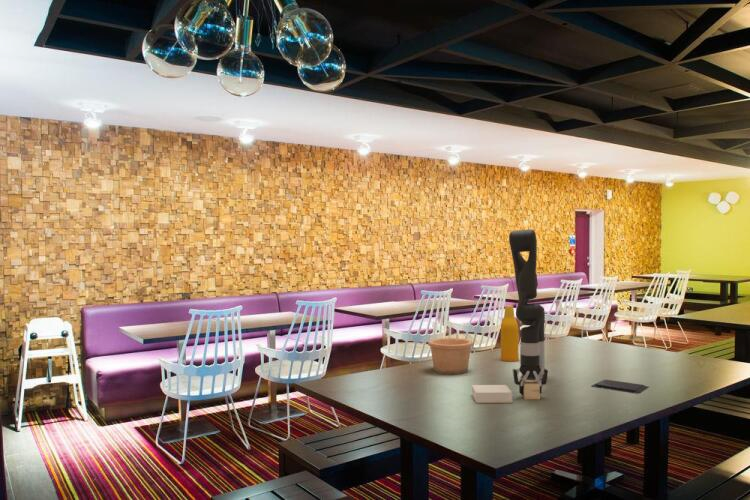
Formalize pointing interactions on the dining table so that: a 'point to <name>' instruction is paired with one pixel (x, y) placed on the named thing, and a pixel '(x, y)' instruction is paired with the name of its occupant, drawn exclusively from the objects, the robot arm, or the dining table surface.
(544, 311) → the robot arm
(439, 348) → the pottery
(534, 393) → the maple cube
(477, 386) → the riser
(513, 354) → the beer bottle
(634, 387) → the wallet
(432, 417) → the dining table surface
